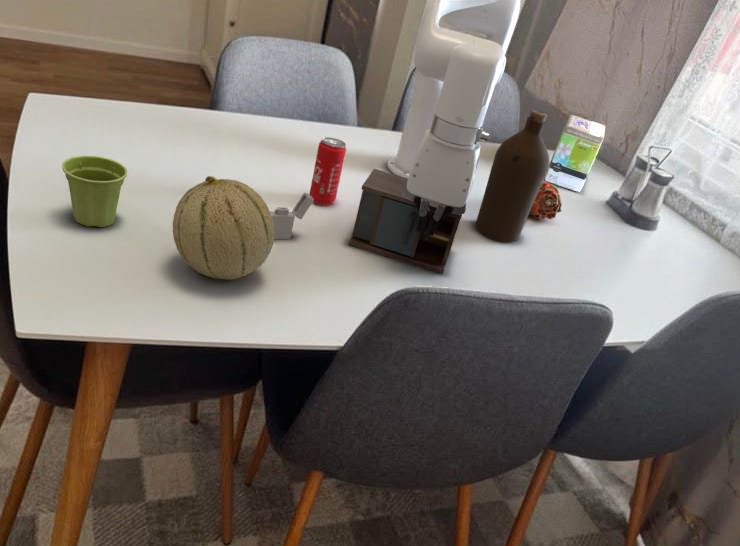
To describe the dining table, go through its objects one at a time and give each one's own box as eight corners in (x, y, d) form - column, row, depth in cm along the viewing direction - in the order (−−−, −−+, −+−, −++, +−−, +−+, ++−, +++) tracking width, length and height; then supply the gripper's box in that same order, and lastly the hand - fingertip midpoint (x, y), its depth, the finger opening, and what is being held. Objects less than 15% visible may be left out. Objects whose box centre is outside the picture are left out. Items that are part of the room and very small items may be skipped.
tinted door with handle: (370, 242, 126) (381, 195, 121) (414, 256, 125) (427, 209, 120) (365, 250, 123) (377, 203, 118) (410, 264, 122) (424, 217, 117)
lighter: (268, 238, 121) (275, 195, 117) (265, 234, 122) (272, 190, 118) (306, 238, 124) (314, 196, 120) (303, 234, 126) (311, 192, 121)
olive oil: (525, 248, 143) (572, 127, 129) (475, 237, 142) (517, 114, 128) (516, 226, 152) (559, 110, 138) (469, 216, 150) (507, 98, 137)
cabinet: (360, 225, 134) (374, 168, 128) (449, 252, 133) (467, 196, 127) (348, 245, 126) (362, 185, 120) (442, 274, 125) (461, 215, 119)
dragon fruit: (547, 235, 156) (513, 217, 165) (576, 212, 157) (540, 196, 166) (538, 204, 150) (503, 188, 159) (568, 181, 152) (532, 166, 160)
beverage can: (331, 209, 137) (343, 149, 130) (305, 201, 137) (316, 141, 131) (337, 200, 141) (349, 142, 135) (312, 193, 142) (323, 134, 135)
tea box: (581, 193, 180) (604, 137, 172) (543, 181, 182) (565, 124, 173) (584, 177, 193) (606, 124, 184) (548, 165, 194) (569, 112, 186)
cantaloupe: (274, 299, 106) (291, 207, 97) (173, 296, 100) (181, 198, 92) (257, 251, 117) (271, 164, 108) (165, 245, 111) (172, 154, 103)
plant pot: (138, 221, 116) (140, 171, 111) (97, 239, 108) (98, 186, 103) (92, 201, 118) (92, 151, 113) (49, 217, 110) (47, 164, 106)
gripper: (502, 138, 112) (468, 241, 123) (412, 112, 113) (385, 216, 123) (500, 151, 106) (463, 258, 116) (405, 123, 107) (377, 232, 117)
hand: (423, 236), depth 120 cm, fingers closed
